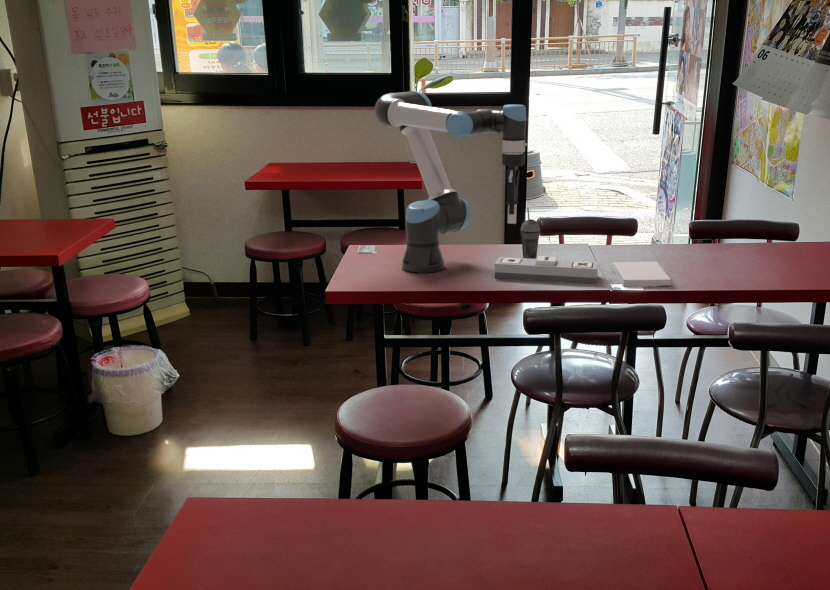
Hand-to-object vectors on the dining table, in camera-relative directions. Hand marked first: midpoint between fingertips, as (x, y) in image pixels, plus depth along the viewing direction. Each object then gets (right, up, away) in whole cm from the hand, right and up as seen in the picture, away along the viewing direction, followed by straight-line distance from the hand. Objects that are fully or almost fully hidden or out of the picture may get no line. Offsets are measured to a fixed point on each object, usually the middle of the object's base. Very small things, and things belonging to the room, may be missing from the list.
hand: (511, 223), depth 273 cm
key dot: (0, -15, +5) cm, 16 cm away
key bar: (+12, -14, +1) cm, 19 cm away
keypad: (+12, -18, +2) cm, 22 cm away
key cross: (+24, -16, -1) cm, 29 cm away
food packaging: (+43, -19, 0) cm, 47 cm away
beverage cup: (+9, -12, +22) cm, 27 cm away
